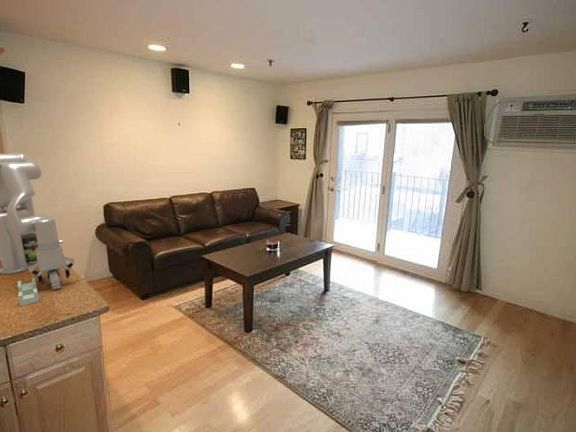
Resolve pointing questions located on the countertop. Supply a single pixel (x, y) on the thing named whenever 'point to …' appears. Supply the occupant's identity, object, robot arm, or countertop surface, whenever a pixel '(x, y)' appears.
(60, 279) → the block
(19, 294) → the cradle
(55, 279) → the axle
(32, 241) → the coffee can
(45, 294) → the countertop surface
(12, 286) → the countertop surface
